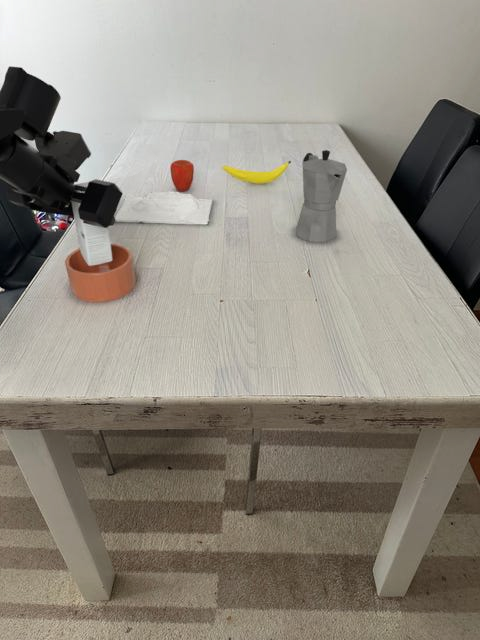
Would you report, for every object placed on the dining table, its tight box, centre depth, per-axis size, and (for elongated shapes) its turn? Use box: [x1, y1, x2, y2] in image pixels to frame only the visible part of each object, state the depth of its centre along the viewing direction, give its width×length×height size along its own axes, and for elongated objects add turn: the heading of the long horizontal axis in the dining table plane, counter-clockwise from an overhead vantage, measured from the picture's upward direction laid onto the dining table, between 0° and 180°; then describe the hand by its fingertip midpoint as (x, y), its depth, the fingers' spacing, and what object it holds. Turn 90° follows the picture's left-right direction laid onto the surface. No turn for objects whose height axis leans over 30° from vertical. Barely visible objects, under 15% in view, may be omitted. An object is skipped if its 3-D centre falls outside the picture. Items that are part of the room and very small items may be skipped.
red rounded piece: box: [169, 159, 195, 192], centre depth 117 cm, size 6×6×8 cm
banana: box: [220, 160, 292, 185], centre depth 122 cm, size 3×19×6 cm, turn 92°
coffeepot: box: [295, 149, 348, 244], centre depth 94 cm, size 15×9×18 cm, turn 18°
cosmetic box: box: [71, 181, 113, 266], centre depth 73 cm, size 6×4×12 cm
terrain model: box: [114, 191, 213, 226], centre depth 106 cm, size 17×23×5 cm
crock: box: [64, 243, 137, 303], centre depth 78 cm, size 11×11×6 cm
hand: (96, 218), depth 73 cm, fingers closed on cosmetic box, 7 cm apart
